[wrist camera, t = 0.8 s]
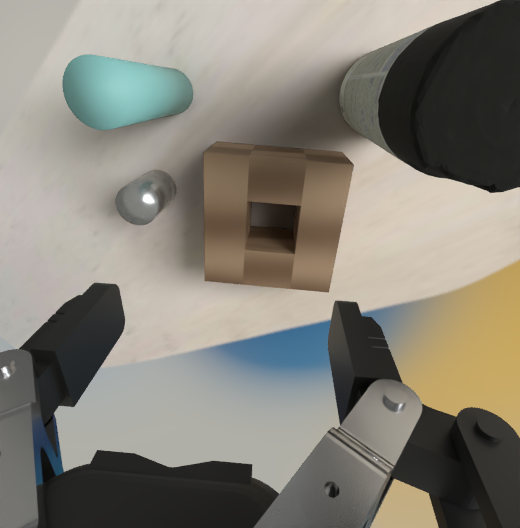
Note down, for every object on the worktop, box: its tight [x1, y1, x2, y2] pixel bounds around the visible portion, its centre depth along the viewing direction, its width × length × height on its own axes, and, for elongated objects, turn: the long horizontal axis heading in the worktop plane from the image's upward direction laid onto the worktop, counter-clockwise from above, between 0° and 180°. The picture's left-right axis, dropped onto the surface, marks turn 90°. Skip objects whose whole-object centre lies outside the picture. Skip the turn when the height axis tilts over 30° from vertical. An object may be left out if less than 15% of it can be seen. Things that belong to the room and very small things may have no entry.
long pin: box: [63, 55, 193, 130], centre depth 24 cm, size 4×4×14 cm
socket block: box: [203, 142, 354, 292], centre depth 32 cm, size 12×12×6 cm
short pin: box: [116, 170, 176, 225], centre depth 32 cm, size 4×4×6 cm
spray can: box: [339, 0, 520, 193], centre depth 20 cm, size 7×7×20 cm
